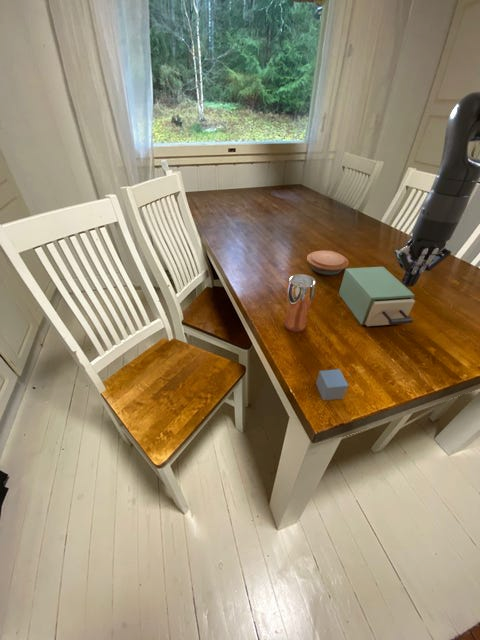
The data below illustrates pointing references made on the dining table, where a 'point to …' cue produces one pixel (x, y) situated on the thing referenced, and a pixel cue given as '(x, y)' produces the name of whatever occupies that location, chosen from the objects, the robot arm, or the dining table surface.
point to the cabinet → (369, 289)
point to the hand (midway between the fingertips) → (407, 284)
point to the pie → (327, 262)
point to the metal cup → (299, 301)
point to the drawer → (389, 312)
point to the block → (331, 384)
